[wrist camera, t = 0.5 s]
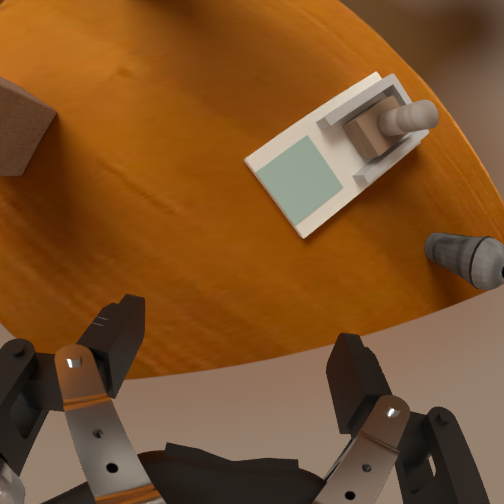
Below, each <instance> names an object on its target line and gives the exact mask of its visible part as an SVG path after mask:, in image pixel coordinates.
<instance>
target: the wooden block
mask: <svg viewBox="0 0 504 504" xmlns="http://www.w3.org/2000/svg"><path fill="white" fill-rule="evenodd" d="M55 115H56V111H55V110H54V109H53V108H51V107H50V106H48V105H47V104H45V103H44V102H42V101H41V100H39V99H38V98H36V97H35V96H33V95H32V94H30V93H29V92H27V91H26V90H24V89H23V88H21V87H20V86H18V85H16V84H14V83H12V82H10V81H8V80H6V79H4V78H2V77H0V176H22V174H23V173H24V171H25V169H26V167H27V165H28V163H29V161H30V159H31V157H32V155H33V153H34V151H35V149H36V148H37V146H38V144H39V142H40V140H41V139H42V137H43V135H44V134H45V132H46V130H47V128H48V127H49V125H50V123H51V122H52V120H53V119H54V117H55Z"/></svg>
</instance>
